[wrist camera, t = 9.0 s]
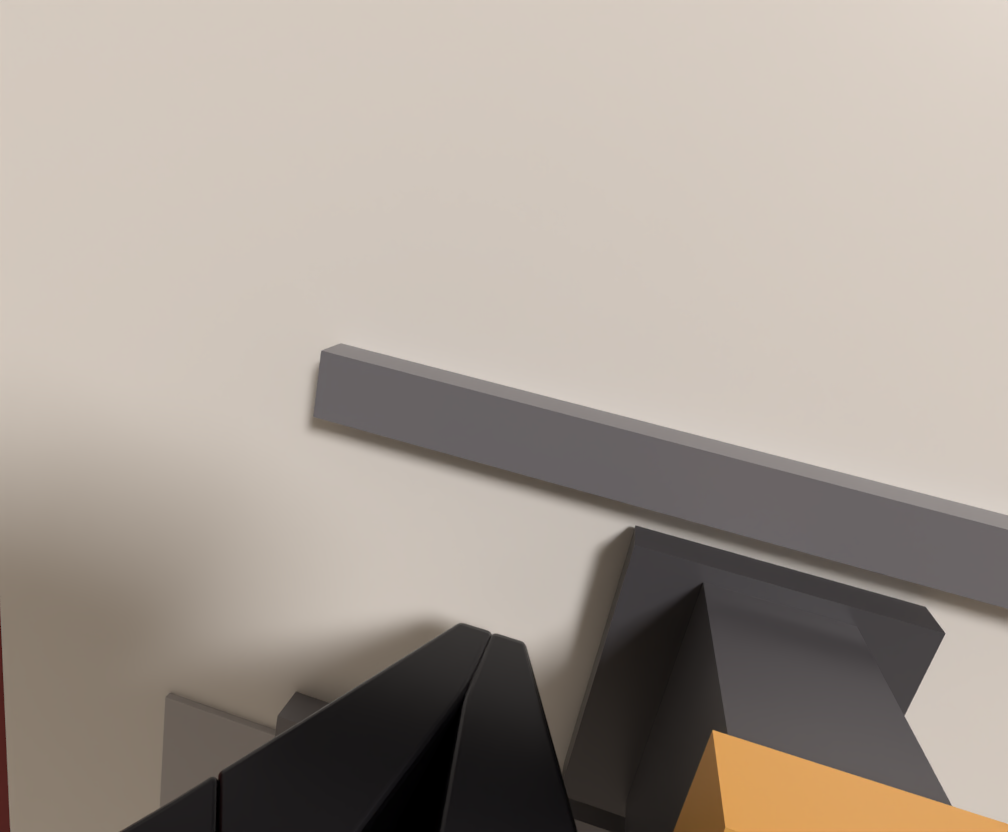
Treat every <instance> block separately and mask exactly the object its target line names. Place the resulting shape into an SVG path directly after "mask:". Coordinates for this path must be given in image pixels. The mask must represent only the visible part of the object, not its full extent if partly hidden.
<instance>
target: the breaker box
mask: <svg viewBox="0 0 1008 832" xmlns="http://www.w3.org/2000/svg"><path fill="white" fill-rule="evenodd" d="M635 525H636V526H640V527H643V528H647V529H651V530H654V531H658V532H661V533H665V534H668V535H672V536H675V537H679V538H683V539H686V540H690V541H693V542H697V543H700V544H704V545H708V546H711V547H715V548H718V549H722V550H725V551H729V552H733V553H736V554H740V555H743V556H747V557H750V558H754V559H757V560H761V561H765V562H768V563H772V564H775V565H779V566H782V567H786V568H790V569H793V570H797V571H800V572H804V573H807V574H811V575H815V576H818V577H822V578H825V579H829V580H832V581H836V582H839V583H843V584H847V585H850V586H854V587H857V588H861V589H864V590H868V591H872V592H875V593H879V594H882V595H886V596H889V597H893V598H897V599H900V600H904V601H907V602H911V603H914V604H918V605H921V606H925V607H926V608H927V609H928V610H929V612H930V613H931V615H932V616H933V617H934V619H935V620H936V621H937V623H938V624H939V625H940V627H941V628H942V629H943V631H944V632H945V633H946V634H945V636H944V638H943V640H942V642H941V644H940V646H939V648H938V650H937V652H936V654H935V656H934V658H933V660H932V662H931V664H930V666H929V668H928V670H927V672H926V674H925V676H924V678H923V680H922V682H921V684H920V686H919V688H918V690H917V692H916V694H915V696H914V698H913V700H912V702H911V704H910V706H909V708H908V710H907V712H906V714H905V718H906V720H907V722H908V724H909V726H910V727H911V729H912V731H913V733H914V735H915V737H916V739H917V741H918V742H919V744H920V746H921V748H922V750H923V752H924V754H925V756H926V758H927V759H928V761H929V763H930V765H931V767H932V769H933V771H934V773H935V775H936V776H937V778H938V780H939V782H940V784H941V786H942V788H943V790H944V791H945V793H946V795H947V797H948V799H949V801H950V803H951V805H952V806H953V807H956V808H959V809H963V810H966V811H969V812H972V813H975V814H978V815H981V816H985V817H988V818H991V819H994V820H997V821H1000V822H1003V823H1007V824H1008V0H0V615H1V637H2V659H3V681H4V704H5V726H6V748H7V771H8V793H9V815H10V832H120V831H121V830H123V829H125V828H126V827H128V826H130V825H131V824H133V823H135V822H137V821H138V820H140V819H142V818H143V817H145V816H147V815H148V814H150V813H152V812H154V811H155V810H157V809H159V808H160V807H162V806H164V805H165V804H167V803H169V802H171V801H172V800H174V799H176V798H177V797H179V796H180V795H182V794H184V793H185V792H187V791H188V790H190V789H192V788H193V787H195V786H197V785H198V784H200V783H201V782H203V781H205V780H206V779H208V778H209V777H212V776H214V777H216V778H217V780H218V774H219V772H220V771H221V770H223V769H225V768H226V767H228V766H229V765H231V764H233V763H234V762H236V761H237V760H239V759H241V758H242V757H244V756H245V755H247V754H249V753H250V752H252V751H253V750H255V749H257V748H258V747H260V746H261V745H263V744H265V743H266V742H268V741H270V740H271V739H273V738H274V737H276V736H278V735H279V734H281V733H282V732H284V731H286V730H287V729H289V728H290V727H292V726H294V725H295V724H297V723H298V722H300V721H302V720H303V719H305V718H307V717H308V716H310V715H311V714H313V713H315V712H316V711H318V710H319V709H321V708H323V707H324V706H326V705H327V704H329V703H331V702H332V701H334V700H335V699H337V698H339V697H340V696H342V695H344V694H345V693H347V692H348V691H350V690H352V689H353V688H355V687H356V686H358V685H360V684H361V683H363V682H364V681H366V680H368V679H369V678H371V677H372V676H374V675H376V674H377V673H379V672H381V671H382V670H384V669H385V668H387V667H389V666H390V665H392V664H393V663H395V662H397V661H398V660H400V659H401V658H403V657H405V656H406V655H408V654H409V653H411V652H413V651H414V650H416V649H418V648H419V647H421V646H422V645H424V644H426V643H427V642H429V641H430V640H432V639H434V638H435V637H437V636H438V635H440V634H442V633H443V632H445V631H446V630H448V629H450V628H451V627H453V626H454V625H456V624H458V623H466V624H469V625H472V626H475V627H478V628H482V629H485V630H488V631H490V632H491V633H492V634H494V633H498V634H501V635H504V636H507V637H510V638H514V639H517V640H520V641H522V642H524V643H525V645H526V647H527V650H528V654H529V657H530V661H531V665H532V668H533V672H534V675H535V679H536V683H537V686H538V690H539V693H540V697H541V701H542V704H543V708H544V712H545V715H546V719H547V722H548V726H549V730H550V733H551V737H552V741H553V744H554V748H555V751H556V755H557V759H558V762H559V766H560V769H561V773H562V771H563V764H564V761H565V757H566V754H567V751H568V747H569V744H570V741H571V737H572V734H573V731H574V727H575V724H576V721H577V717H578V714H579V711H580V708H581V704H582V701H583V698H584V694H585V691H586V688H587V684H588V681H589V678H590V674H591V671H592V668H593V664H594V661H595V658H596V654H597V651H598V648H599V645H600V641H601V638H602V635H603V631H604V628H605V625H606V621H607V618H608V615H609V611H610V608H611V605H612V601H613V598H614V595H615V591H616V588H617V585H618V581H619V578H620V575H621V572H622V568H623V565H624V562H625V558H626V555H627V552H628V548H629V545H630V542H631V538H632V535H633V532H634V528H635ZM569 802H570V806H571V809H572V813H573V817H574V820H575V824H576V827H577V831H578V832H625V817H623V816H620V815H617V814H614V813H611V812H608V811H605V810H602V809H600V808H597V807H594V806H591V805H588V804H585V803H582V802H579V801H576V800H573V799H570V798H569Z"/></svg>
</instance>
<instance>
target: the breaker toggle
mask: <svg viewBox="0 0 1008 832" xmlns="http://www.w3.org/2000/svg"><path fill="white" fill-rule="evenodd" d="M945 634H946V633H945V632H944V631H943V629H942V628H941V627H940V625H939V624H938V623H937V621H936V620H935V619H934V617H933V616H932V615H931V613H930V612H929V610H928V609H927V608H926V607H925V606H921V605H918V604H914V603H911V602H907V601H904V600H900V599H897V598H893V597H889V596H886V595H882V594H879V593H875V592H872V591H868V590H864V589H861V588H857V587H854V586H850V585H847V584H843V583H839V582H836V581H832V580H829V579H825V578H822V577H818V576H815V575H811V574H807V573H804V572H800V571H797V570H793V569H790V568H786V567H782V566H779V565H775V564H772V563H768V562H765V561H761V560H757V559H754V558H750V557H747V556H743V555H740V554H736V553H733V552H729V551H725V550H722V549H718V548H715V547H711V546H708V545H704V544H700V543H697V542H693V541H690V540H686V539H683V538H679V537H675V536H672V535H668V534H665V533H661V532H658V531H654V530H651V529H647V528H643V527H640V526H636V525H635V528H634V532H633V535H632V538H631V542H630V545H629V548H628V552H627V555H626V558H625V562H624V565H623V568H622V572H621V575H620V578H619V581H618V585H617V588H616V591H615V595H614V598H613V601H612V605H611V608H610V611H609V615H608V618H607V621H606V625H605V628H604V631H603V635H602V638H601V641H600V645H599V648H598V651H597V654H596V658H595V661H594V664H593V668H592V671H591V674H590V678H589V681H588V684H587V688H586V691H585V694H584V698H583V701H582V704H581V708H580V711H579V714H578V717H577V721H576V724H575V727H574V731H573V734H572V737H571V741H570V744H569V747H568V751H567V754H566V757H565V761H564V764H563V771H562V777H563V780H564V784H565V788H566V791H567V795H568V798H570V799H573V800H576V801H579V802H582V803H585V804H588V805H591V806H594V807H597V808H600V809H602V810H605V811H608V812H611V813H614V814H617V815H620V816H623V817H625V832H1008V824H1007V823H1003V822H1000V821H997V820H994V819H991V818H988V817H985V816H981V815H978V814H975V813H972V812H969V811H966V810H963V809H959V808H956V807H953V806H952V805H951V803H950V801H949V799H948V797H947V795H946V793H945V791H944V790H943V788H942V786H941V784H940V782H939V780H938V778H937V776H936V775H935V773H934V771H933V769H932V767H931V765H930V763H929V761H928V759H927V758H926V756H925V754H924V752H923V750H922V748H921V746H920V744H919V742H918V741H917V739H916V737H915V735H914V733H913V731H912V729H911V727H910V726H909V724H908V722H907V720H906V718H905V714H906V712H907V710H908V708H909V706H910V704H911V702H912V700H913V698H914V696H915V694H916V692H917V690H918V688H919V686H920V684H921V682H922V680H923V678H924V676H925V674H926V672H927V670H928V668H929V666H930V664H931V662H932V660H933V658H934V656H935V654H936V652H937V650H938V648H939V646H940V644H941V642H942V640H943V638H944V636H945Z"/></svg>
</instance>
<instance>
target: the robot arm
mask: <svg viewBox="0 0 1008 832" xmlns="http://www.w3.org/2000/svg"><path fill="white" fill-rule="evenodd" d="M120 832H578V831H577V827H576V824H575V820H574V817H573V813H572V809H571V806H570V802H569V798H568V795H567V791H566V788H565V784H564V780H563V777H562V773H561V769H560V766H559V762H558V759H557V755H556V751H555V748H554V744H553V741H552V737H551V733H550V730H549V726H548V722H547V719H546V715H545V712H544V708H543V704H542V701H541V697H540V693H539V690H538V686H537V683H536V679H535V675H534V672H533V668H532V665H531V661H530V657H529V654H528V650H527V647H526V645H525V643H524V642H522V641H520V640H517V639H514V638H510V637H507V636H504V635H501V634H498V633H494V634H492V633H491V632H490V631H488V630H485V629H482V628H478V627H475V626H472V625H469V624H466V623H458V624H456V625H454V626H453V627H451V628H450V629H448V630H446V631H445V632H443V633H442V634H440V635H438V636H437V637H435V638H434V639H432V640H430V641H429V642H427V643H426V644H424V645H422V646H421V647H419V648H418V649H416V650H414V651H413V652H411V653H409V654H408V655H406V656H405V657H403V658H401V659H400V660H398V661H397V662H395V663H393V664H392V665H390V666H389V667H387V668H385V669H384V670H382V671H381V672H379V673H377V674H376V675H374V676H372V677H371V678H369V679H368V680H366V681H364V682H363V683H361V684H360V685H358V686H356V687H355V688H353V689H352V690H350V691H348V692H347V693H345V694H344V695H342V696H340V697H339V698H337V699H335V700H334V701H332V702H331V703H329V704H327V705H326V706H324V707H323V708H321V709H319V710H318V711H316V712H315V713H313V714H311V715H310V716H308V717H307V718H305V719H303V720H302V721H300V722H298V723H297V724H295V725H294V726H292V727H290V728H289V729H287V730H286V731H284V732H282V733H281V734H279V735H278V736H276V737H274V738H273V739H271V740H270V741H268V742H266V743H265V744H263V745H261V746H260V747H258V748H257V749H255V750H253V751H252V752H250V753H249V754H247V755H245V756H244V757H242V758H241V759H239V760H237V761H236V762H234V763H233V764H231V765H229V766H228V767H226V768H225V769H223V770H221V771H220V772H219V774H218V780H217V778H216V777H214V776H212V777H209V778H208V779H206V780H205V781H203V782H201V783H200V784H198V785H197V786H195V787H193V788H192V789H190V790H188V791H187V792H185V793H184V794H182V795H180V796H179V797H177V798H176V799H174V800H172V801H171V802H169V803H167V804H165V805H164V806H162V807H160V808H159V809H157V810H155V811H154V812H152V813H150V814H148V815H147V816H145V817H143V818H142V819H140V820H138V821H137V822H135V823H133V824H131V825H130V826H128V827H126V828H125V829H123V830H121V831H120Z"/></svg>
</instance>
